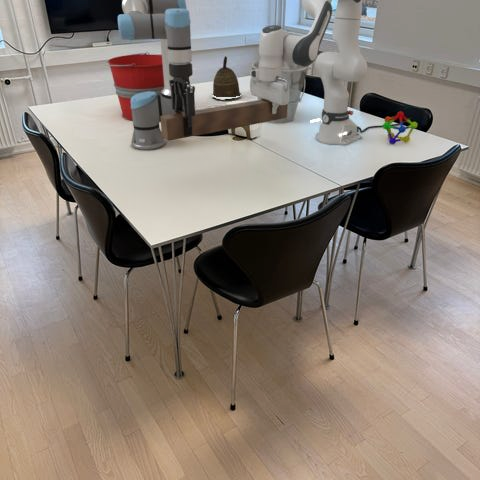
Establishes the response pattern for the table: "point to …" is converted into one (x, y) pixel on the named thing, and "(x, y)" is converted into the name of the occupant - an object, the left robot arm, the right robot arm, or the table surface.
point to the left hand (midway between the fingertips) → (184, 133)
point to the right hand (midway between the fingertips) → (268, 111)
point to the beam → (221, 118)
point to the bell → (225, 82)
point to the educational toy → (398, 128)
